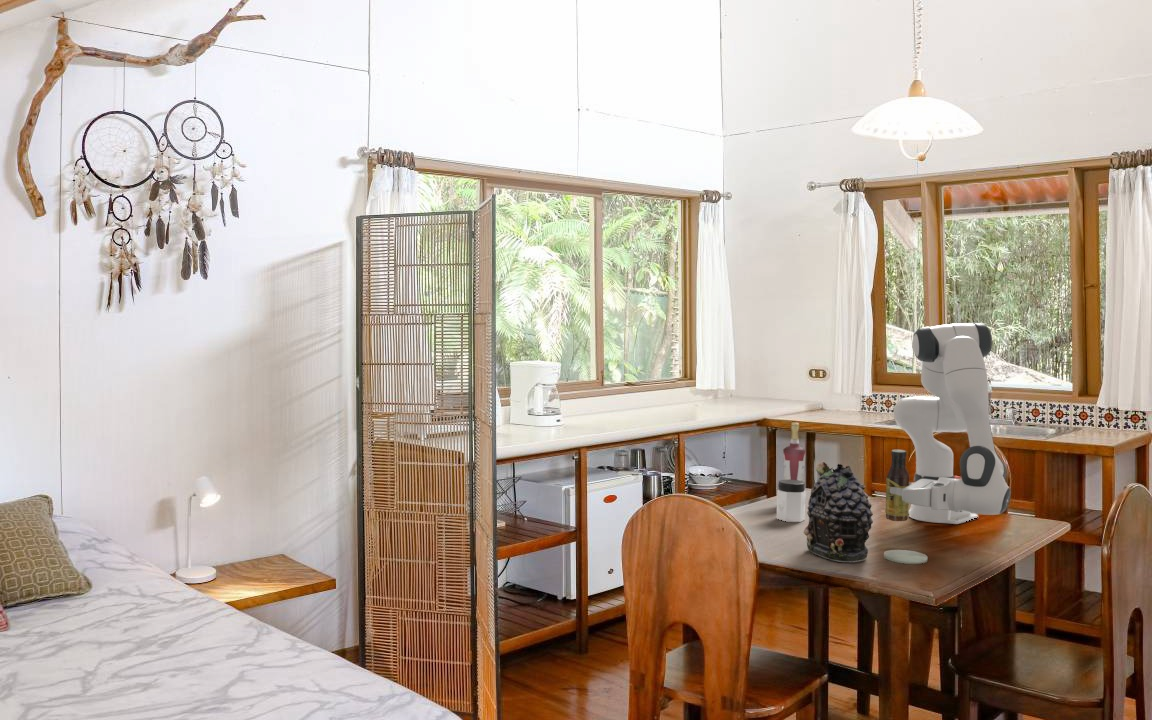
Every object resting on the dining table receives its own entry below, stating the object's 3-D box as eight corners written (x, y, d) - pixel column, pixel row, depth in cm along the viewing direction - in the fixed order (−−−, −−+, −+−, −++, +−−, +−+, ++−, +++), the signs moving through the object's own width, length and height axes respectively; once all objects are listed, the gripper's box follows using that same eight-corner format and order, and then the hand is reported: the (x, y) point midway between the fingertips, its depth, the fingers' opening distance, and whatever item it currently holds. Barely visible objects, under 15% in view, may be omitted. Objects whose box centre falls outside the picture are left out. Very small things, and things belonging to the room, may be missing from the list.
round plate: (903, 551, 263) (903, 547, 263) (936, 560, 254) (936, 557, 254) (875, 556, 258) (875, 552, 258) (908, 566, 248) (908, 562, 248)
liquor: (804, 508, 319) (806, 424, 318) (781, 506, 321) (784, 423, 319) (803, 503, 327) (805, 422, 325) (781, 502, 328) (783, 421, 327)
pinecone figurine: (790, 549, 265) (792, 459, 263) (834, 544, 271) (836, 456, 269) (840, 568, 246) (843, 471, 244) (886, 562, 252) (889, 468, 250)
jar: (771, 517, 304) (772, 480, 303) (791, 515, 308) (792, 478, 307) (790, 523, 296) (791, 485, 295) (810, 521, 300) (811, 483, 299)
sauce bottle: (882, 516, 275) (883, 448, 273) (904, 516, 275) (905, 448, 273) (889, 522, 268) (890, 452, 266) (912, 522, 268) (913, 452, 266)
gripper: (954, 476, 272) (904, 471, 279) (936, 488, 255) (884, 482, 263) (953, 498, 272) (904, 492, 280) (935, 511, 255) (883, 504, 263)
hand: (894, 487), depth 271 cm, fingers closed on sauce bottle, 6 cm apart
